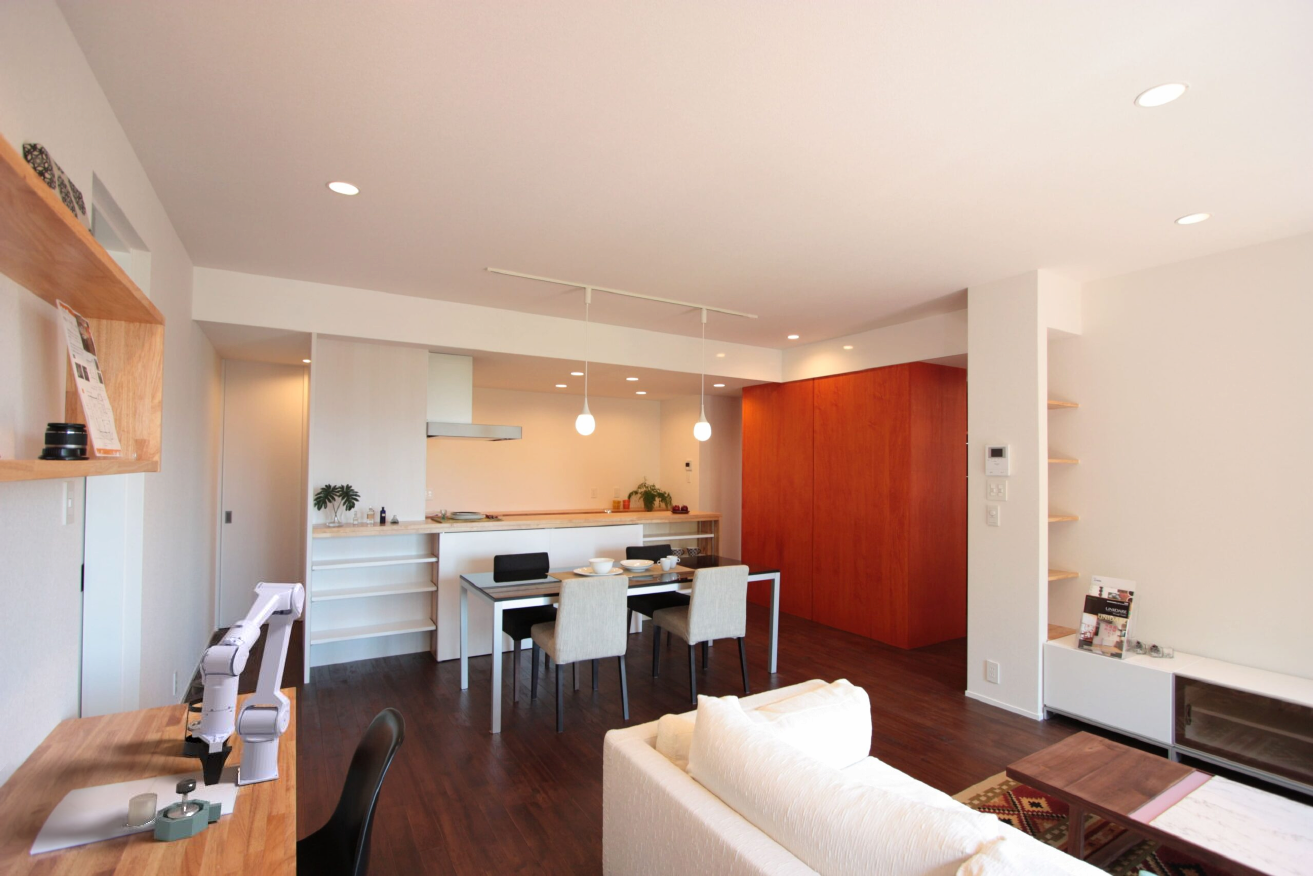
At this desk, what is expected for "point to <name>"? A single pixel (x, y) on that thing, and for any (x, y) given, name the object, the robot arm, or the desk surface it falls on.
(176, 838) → the grey-green octagonal bowl
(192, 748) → the french press
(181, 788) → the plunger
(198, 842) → the desk surface
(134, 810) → the cream rounded block
